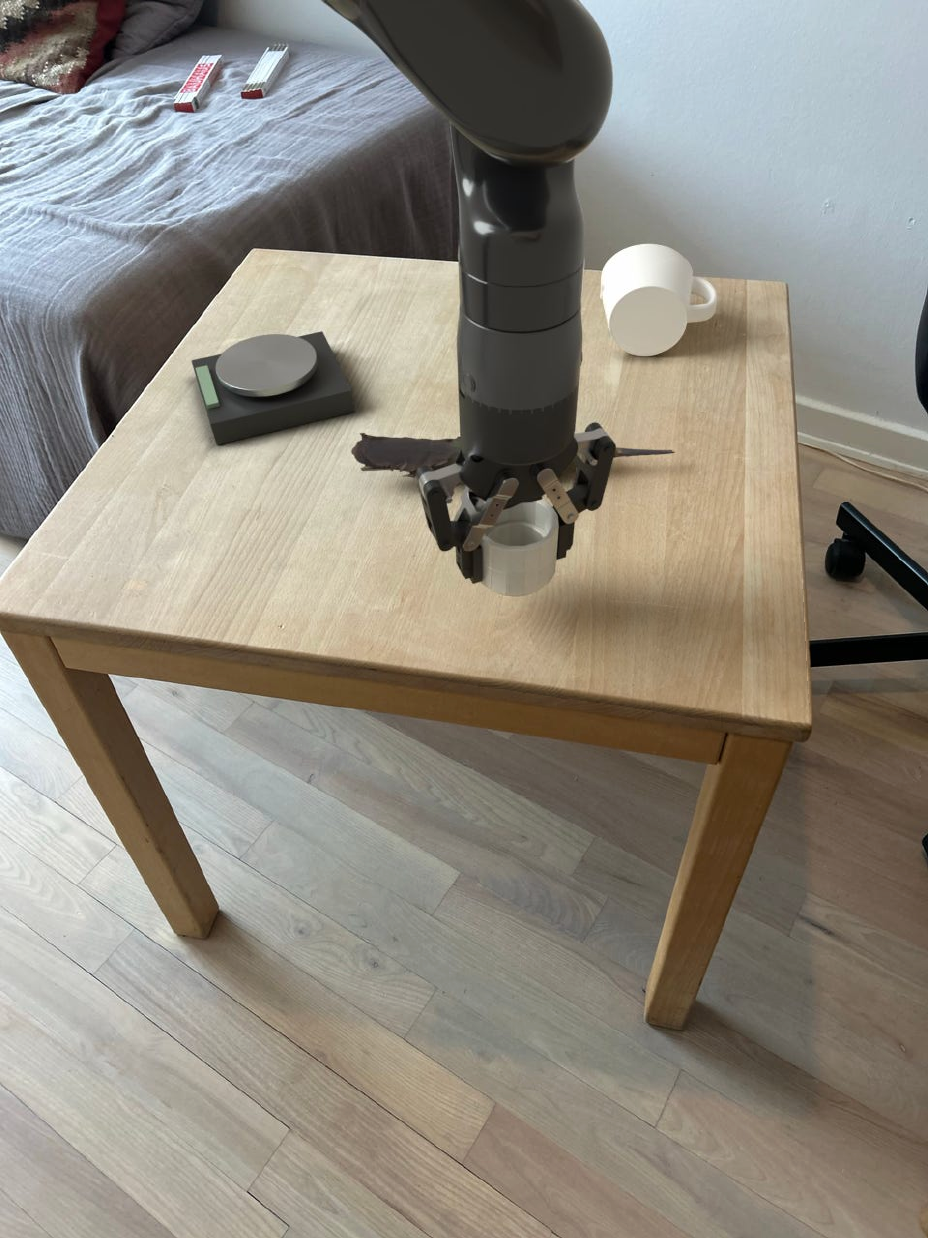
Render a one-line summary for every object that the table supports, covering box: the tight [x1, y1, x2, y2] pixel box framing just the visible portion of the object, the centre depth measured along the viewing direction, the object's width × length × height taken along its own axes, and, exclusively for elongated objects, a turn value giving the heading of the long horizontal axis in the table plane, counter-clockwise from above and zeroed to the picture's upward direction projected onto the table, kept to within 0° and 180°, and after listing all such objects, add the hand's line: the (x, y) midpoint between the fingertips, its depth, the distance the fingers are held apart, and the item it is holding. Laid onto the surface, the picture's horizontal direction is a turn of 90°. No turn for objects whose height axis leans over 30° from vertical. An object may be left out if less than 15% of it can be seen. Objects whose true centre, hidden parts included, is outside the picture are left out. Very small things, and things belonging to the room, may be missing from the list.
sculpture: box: [350, 432, 676, 480], centre depth 79 cm, size 5×29×5 cm, turn 91°
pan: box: [216, 333, 318, 397], centre depth 88 cm, size 10×10×1 cm
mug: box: [599, 243, 719, 357], centre depth 92 cm, size 12×9×8 cm
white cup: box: [480, 499, 559, 598], centre depth 65 cm, size 6×6×5 cm
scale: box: [191, 331, 356, 446], centre depth 89 cm, size 14×12×3 cm
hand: (514, 563), depth 66 cm, fingers closed on white cup, 6 cm apart
